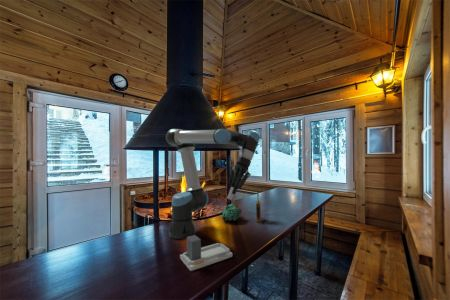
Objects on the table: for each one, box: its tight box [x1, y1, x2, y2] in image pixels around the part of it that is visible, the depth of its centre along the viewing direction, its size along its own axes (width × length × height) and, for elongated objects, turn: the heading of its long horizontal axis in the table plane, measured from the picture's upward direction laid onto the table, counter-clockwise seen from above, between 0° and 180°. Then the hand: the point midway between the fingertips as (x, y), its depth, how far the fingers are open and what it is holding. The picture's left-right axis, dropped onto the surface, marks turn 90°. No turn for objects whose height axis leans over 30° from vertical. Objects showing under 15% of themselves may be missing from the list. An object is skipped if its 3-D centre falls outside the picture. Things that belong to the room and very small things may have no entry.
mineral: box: [221, 203, 243, 222], centre depth 140 cm, size 18×16×10 cm
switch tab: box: [186, 234, 202, 261], centre depth 84 cm, size 4×6×8 cm, turn 32°
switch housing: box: [179, 242, 233, 272], centre depth 87 cm, size 20×12×2 cm, turn 122°
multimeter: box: [255, 191, 270, 225], centre depth 136 cm, size 15×10×20 cm
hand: (229, 199), depth 104 cm, fingers closed
